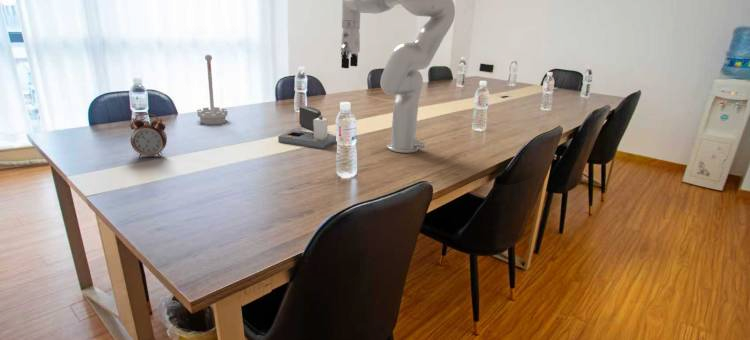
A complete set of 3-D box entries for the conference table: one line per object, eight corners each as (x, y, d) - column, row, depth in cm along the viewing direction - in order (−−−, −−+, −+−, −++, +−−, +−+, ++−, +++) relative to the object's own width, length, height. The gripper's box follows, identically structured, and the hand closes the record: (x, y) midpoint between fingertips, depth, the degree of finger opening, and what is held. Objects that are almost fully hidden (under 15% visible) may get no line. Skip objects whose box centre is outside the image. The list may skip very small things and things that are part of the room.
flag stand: (196, 118, 202) (191, 52, 192) (226, 117, 207) (221, 53, 197) (199, 125, 191) (193, 55, 181) (229, 123, 196) (225, 56, 186)
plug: (327, 143, 174) (327, 115, 170) (322, 145, 170) (323, 117, 166) (316, 141, 175) (316, 114, 171) (311, 143, 172) (312, 116, 168)
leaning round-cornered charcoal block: (326, 132, 190) (326, 111, 187) (317, 133, 188) (317, 112, 184) (307, 124, 202) (307, 104, 199) (298, 125, 199) (298, 105, 196)
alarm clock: (132, 159, 144) (125, 115, 139) (135, 155, 148) (129, 112, 143) (167, 158, 147) (162, 115, 142) (170, 153, 151) (165, 111, 146)
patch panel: (336, 141, 177) (336, 135, 176) (324, 149, 166) (324, 142, 165) (293, 135, 183) (293, 129, 182) (278, 142, 172) (278, 135, 171)
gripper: (351, 25, 171) (350, 69, 176) (366, 25, 186) (364, 66, 192) (334, 24, 173) (333, 68, 179) (350, 24, 188) (349, 64, 194)
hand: (349, 67), depth 185 cm, fingers open, 9 cm apart
